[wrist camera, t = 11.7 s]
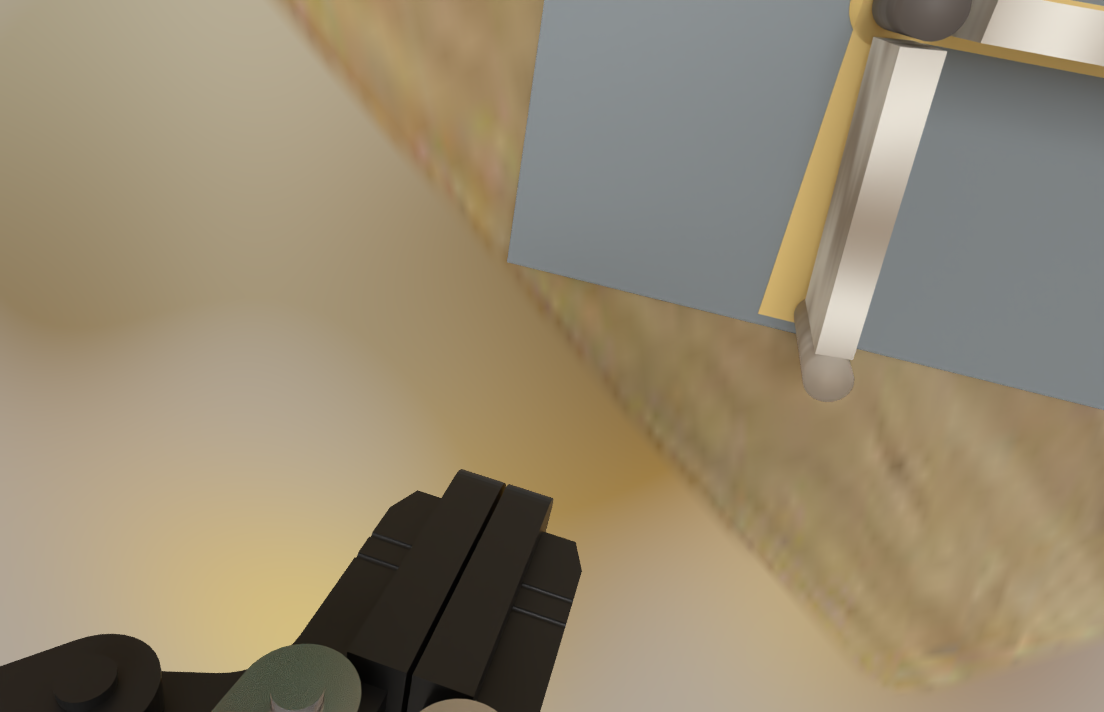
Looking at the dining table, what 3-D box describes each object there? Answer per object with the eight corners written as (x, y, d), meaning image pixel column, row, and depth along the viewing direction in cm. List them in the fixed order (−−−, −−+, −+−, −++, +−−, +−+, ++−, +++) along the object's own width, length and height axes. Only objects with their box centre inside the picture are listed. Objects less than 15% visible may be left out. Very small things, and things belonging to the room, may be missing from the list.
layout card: (1439, -124, 20) (1451, -126, 20) (1101, 406, 29) (1106, 411, 29) (582, -251, 24) (579, -254, 23) (509, 259, 32) (506, 262, 32)
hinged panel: (879, -26, 23) (914, -30, 19) (932, -22, 23) (981, -25, 18) (789, 329, 29) (797, 396, 25) (830, 336, 29) (846, 405, 24)
